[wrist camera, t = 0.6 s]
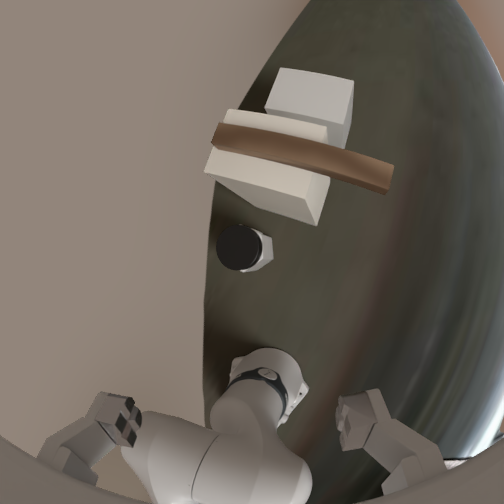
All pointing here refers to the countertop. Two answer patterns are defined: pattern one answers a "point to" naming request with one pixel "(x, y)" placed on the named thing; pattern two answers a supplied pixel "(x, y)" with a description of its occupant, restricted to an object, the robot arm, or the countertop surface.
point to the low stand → (314, 101)
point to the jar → (244, 248)
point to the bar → (305, 155)
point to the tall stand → (272, 170)
